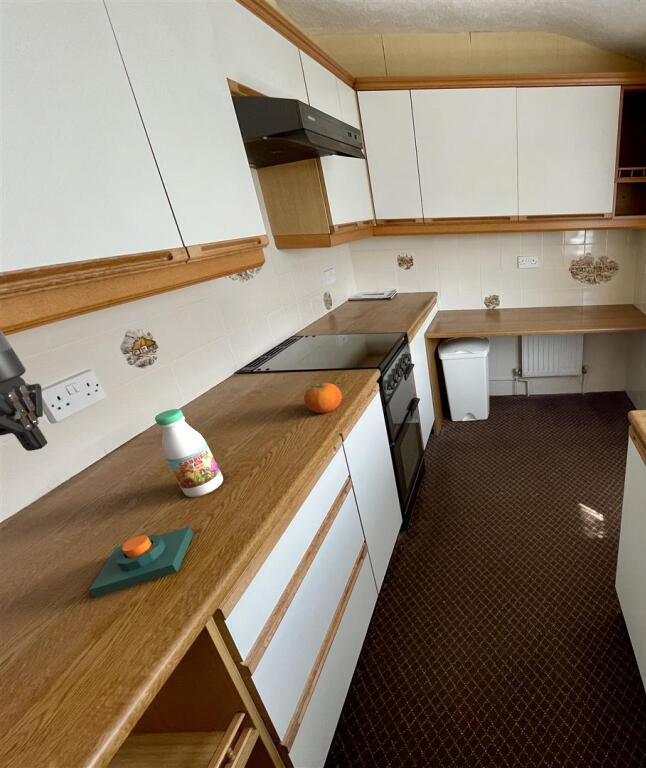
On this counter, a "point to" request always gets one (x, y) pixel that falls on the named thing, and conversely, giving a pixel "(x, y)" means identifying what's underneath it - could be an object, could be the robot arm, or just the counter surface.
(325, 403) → the fruit
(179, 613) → the counter surface
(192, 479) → the milk bottle
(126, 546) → the orange push button
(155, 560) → the cap housing
